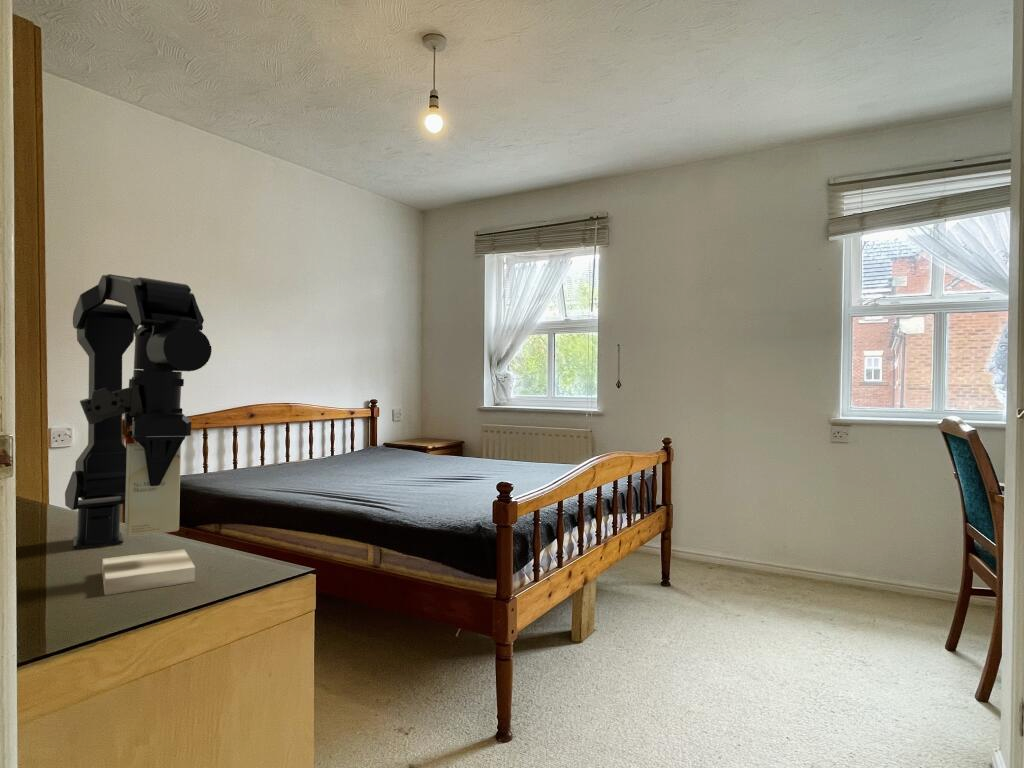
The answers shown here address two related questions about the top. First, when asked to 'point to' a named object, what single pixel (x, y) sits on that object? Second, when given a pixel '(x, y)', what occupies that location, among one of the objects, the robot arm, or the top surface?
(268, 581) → the top surface
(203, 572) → the top surface
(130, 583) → the birch plinth
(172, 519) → the skincare box
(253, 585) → the top surface
